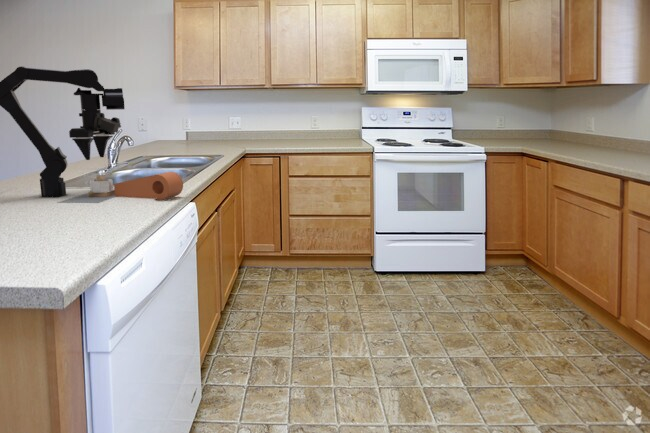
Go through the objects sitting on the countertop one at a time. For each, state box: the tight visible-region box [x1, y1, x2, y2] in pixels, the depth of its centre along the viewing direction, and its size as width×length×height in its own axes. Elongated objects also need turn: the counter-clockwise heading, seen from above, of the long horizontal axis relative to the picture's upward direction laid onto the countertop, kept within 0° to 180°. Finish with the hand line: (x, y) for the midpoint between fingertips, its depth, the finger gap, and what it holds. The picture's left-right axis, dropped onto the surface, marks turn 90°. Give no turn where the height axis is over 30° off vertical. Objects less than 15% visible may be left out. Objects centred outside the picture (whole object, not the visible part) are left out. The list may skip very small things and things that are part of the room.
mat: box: [56, 193, 118, 204], centre depth 179 cm, size 13×17×1 cm
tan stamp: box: [87, 174, 115, 197], centre depth 183 cm, size 6×6×6 cm
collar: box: [89, 178, 114, 193], centre depth 183 cm, size 6×6×4 cm
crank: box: [113, 171, 184, 201], centre depth 182 cm, size 20×8×8 cm, turn 72°
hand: (95, 158), depth 187 cm, fingers open, 9 cm apart
